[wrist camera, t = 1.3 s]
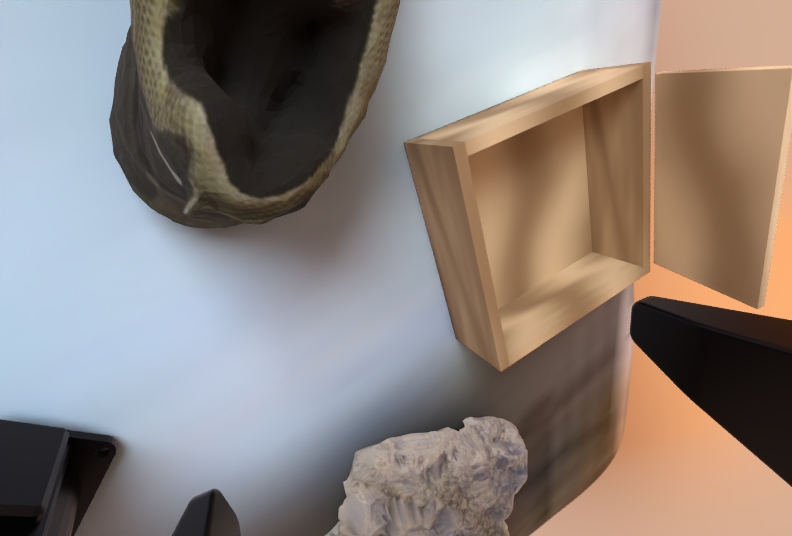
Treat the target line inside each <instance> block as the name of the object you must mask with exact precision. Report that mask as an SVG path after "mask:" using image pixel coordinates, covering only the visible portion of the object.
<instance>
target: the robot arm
mask: <svg viewBox="0 0 792 536" xmlns="http://www.w3.org/2000/svg"><path fill="white" fill-rule="evenodd" d="M630 335H631V337H632V339H633V341H634V342H635V343H636V344H637V346H638V347H639V348H641V349H642V351H643V352H644V353H645V354H646V355H647V356H648V357H649V358H650V359H651V360H652V361H653V362H654V363H655V364H656V365H657V366H658V367H659V368H660V369H661V370H662V371H663V372H664V373H665V374H666V375H667V376H668V377H669V378H670V379H671V380H672V381H673V382H674V384H675V385H676V386H677V387H678V388H679V389H680V390H681V391H683V393H684V394H686V395H687V396H688V397H689V398H690V399H691V400H692V401H693V402H694V403H695V404H696V405H698V406H699V407H700V408H701V409H702V410H703V411H705V412H706V413H707V414H708V415H709V416H711V418H713V419H714V420H715V421H716V422H717V423H718V424H720V425H721V426H722V427H723V428H724V429H725V430H727V431H728V432H729V433H730V434H731V435H732V436H733V437H735V438H736V439H737V440H738V441H739V442H740V443H742V444H743V445H744V446H745V447H746V448H747V449H748V450H750V451H751V452H752V453H753V454H754V455H756V456H757V457H758V458H759V459H760V460H761V461H762V462H764V463H765V464H766V465H767V466H768V467H769V468H771V469H772V470H773V471H774V472H775V473H776V474H777V475H779V476H780V477H781V478H782V479H783V480H784V481H786V482H787V483H788V484H789V485H790V486H791V487H792V320H787V319H780V318H774V317H769V316H763V315H757V314H752V313H747V312H741V311H735V310H729V309H724V308H718V307H712V306H707V305H701V304H695V303H690V302H684V301H678V300H673V299H667V298H661V297H655V296H650V297H647V298H644V299H642V300H639V301H637V302H635V303H634V304H633V306H632V312H631V323H630ZM100 447H106V448H108V450H105V451H98V450H96V449H98V448H100ZM116 450H117V441H116V439H115V438H114V437H111V436H108V435H100V434H93V433H85V432H78V431H70V430H65V429H64V428H57V427H50V426H42V425H35V424H28V423H20V422H13V421H6V420H0V536H74V534H75V532H76V530H77V528H78V526H79V524H80V522H81V520H82V518H83V517H84V515H85V513H86V511H87V509H88V507H89V505H90V503H91V501H92V499H93V497H94V495H95V493H96V491H97V489H98V487H99V485H100V483H101V481H102V479H103V477H104V475H105V473H106V472H107V470H108V468H109V466H110V464H111V462H112V460H113V458H114V456H115V454H116ZM172 536H241V534H240V527H239V522H238V519H237V516H236V514H235V513H234V511H233V510H232V508H231V507H230V505H229V504H228V502H227V501H226V499H225V498H224V496H223V495H222V493H221V492H220V491H219V490H218V489H211V490H209V491H207V492H205V493H202V494H200V495H198V496H196V497H194V498H193V499H192V500H191V501H190V502H189V504H188V506H187V508H186V510H185V512H184V514H183V516H182V517H181V519H180V521H179V523H178V525H177V527H176V529H175V531H174V533H173V535H172Z"/></svg>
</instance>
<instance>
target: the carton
mask: <svg viewBox="0 0 792 536" xmlns="http://www.w3.org/2000/svg"><path fill="white" fill-rule="evenodd" d="M650 125H651V62H645V63H637V64H629V65H621V66H613V67H605V68H597V69H589V70H581V71H579V72H576V73H574V74H572V75H569V76H567V77H564V78H562V79H559V80H557V81H554V82H552V83H549V84H547V85H544V86H542V87H540V88H537V89H535V90H532V91H530V92H527V93H525V94H522V95H520V96H517V97H515V98H512V99H510V100H508V101H505V102H503V103H500V104H498V105H495V106H493V107H490V108H488V109H485V110H483V111H480V112H478V113H476V114H473V115H471V116H468V117H466V118H463V119H461V120H458V121H456V122H453V123H451V124H448V125H446V126H444V127H441V128H439V129H436V130H434V131H431V132H429V133H426V134H424V135H421V136H419V137H416V138H414V139H412V140H409V141H407V142H404V145H405V148H406V152H407V156H408V160H409V163H410V167H411V171H412V175H413V178H414V182H415V186H416V190H417V193H418V197H419V201H420V205H421V208H422V212H423V216H424V220H425V223H426V227H427V231H428V235H429V238H430V242H431V246H432V250H433V254H434V257H435V261H436V265H437V269H438V272H439V276H440V280H441V284H442V287H443V291H444V295H445V299H446V302H447V306H448V310H449V314H450V317H451V321H452V325H453V329H454V332H455V336H456V339H457V340H459V341H460V342H461V343H463V344H464V345H465V346H467V347H468V348H469V349H471V350H472V351H473V352H475V353H476V354H478V355H479V356H480V357H482V358H483V359H484V360H486V361H487V362H488V363H490V364H491V365H492V366H494V367H495V368H496V369H498V370H499V371H500V372H501V371H503V370H504V369H506V368H507V367H509V366H510V365H512V364H513V363H515V362H516V361H518V360H519V359H521V358H522V357H524V356H525V355H527V354H528V353H530V352H531V351H533V350H534V349H536V348H537V347H539V346H540V345H542V344H543V343H544V342H546V341H547V340H549V339H550V338H552V337H553V336H555V335H556V334H558V333H559V332H561V331H562V330H564V329H565V328H567V327H568V326H570V325H571V324H573V323H574V322H576V321H577V320H579V319H580V318H582V317H583V316H585V315H586V314H588V313H589V312H591V311H592V310H594V309H595V308H597V307H598V306H599V305H601V304H602V303H604V302H605V301H607V300H608V299H610V298H611V297H613V296H614V295H616V294H617V293H619V292H620V291H622V290H623V289H625V288H626V287H628V286H629V285H631V284H632V283H634V282H635V281H637V280H638V279H640V278H641V277H643V276H644V275H645V274H647V273H649V272H650V148H651V147H650V146H651V144H650V143H651V141H650V140H651V133H650V132H651V126H650Z"/></svg>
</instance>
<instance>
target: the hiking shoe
mask: <svg viewBox="0 0 792 536" xmlns="http://www.w3.org/2000/svg"><path fill="white" fill-rule="evenodd" d="M399 4H400V0H130V7H131V26H130V28H129V30H128V33H127V38H126V42H125V44H124V46H123V48H122V51H121V55H120V59H119V62H118V68H117V73H116V78H115V87H114V98H113V105H112V110H111V114H110V119H109V121H110V128H111V135H112V142H113V152H114V156H115V158H116V159H117V161H118V163H119V164H120V166H121V168H122V170H123V172H124V174H125V176H126V178H127V180H128V182H129V184H130V185H131V187H132V189H133V191H134V192H135V193H136V194H137V195H138V196H139V197H140V198H141V199H142V200H143V201H144V202H145V203H146V204H147V205H148V206H149V207H150V208H152V209H153V210H155V211H157V212H158V213H160V214H162V215H164V216H166V217H168V218H169V219H171V220H172V221H174V222H176V223H179V224H182V225H186V226H190V227H198V228H216V227H223V228H225V227H230V226H234V225H238V224H241V223H249V224H263V223H266V222H268V221H270V220H272V219H274V218H277V217H280V216H283V215H286V214H289V213H292V212H295V211H297V210H299V209H301V208H303V207H304V206H305V205H306V204H307V202H308V201H309V200H310V198H311V197H312V195H313V194H314V193H315V191H316V190H317V189H318V188H319V187H320V186H321V184H322V183H323V182H324V180H325V179H326V178H327V177H328V176H329V172H330V171H331V169H332V167H333V165H334V164H335V163H336V162H337V161H338V160H339V158H340V157H341V155H342V154H343V152H344V151H345V148H346V145H347V142H348V140H349V139H350V137H351V136H352V134H353V133H354V132H355V130H356V129H357V127H358V126H359V124H360V123H361V121H362V120H363V119H364V117H365V115H366V111H367V106H368V102H369V100H370V98H371V97H372V95H373V93H374V91H375V89H376V86H377V83H378V81H379V78H380V75H381V73H382V70H383V67H384V64H385V62H386V57H387V52H388V46H389V41H390V38H391V34H392V30H393V27H394V23H395V19H396V16H397V12H398V8H399Z"/></svg>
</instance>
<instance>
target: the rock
mask: <svg viewBox="0 0 792 536" xmlns="http://www.w3.org/2000/svg"><path fill="white" fill-rule="evenodd" d="M463 422H464V424H465V427H464V428H463V429H460V430H459V431H456V430H455V429H451V428H449V427H446V428H443V429H440V430H439V431H431V432H427V433H412V434H407V435H403V436H399V437H391V438H388V439H386V440H384V441H382V442H380V443H378V444H375V445H371V446H368V447H365V448H363V449H360V450H358V451H356V453H355V456H354V459H353V463H352V469H351V472H350V475H349V477H348V479H347V480H346V481H343V483H344V489H345V493H346V497H347V498H346V499H345V500H344V503H343V505H341V506H340V507H339V513H338V519H339V520H340V521H339V522H338V523H337V524H336V525H335V526H334V528H333V529H332V530H331V531H330V532H329V533H328V534H326V535H325V536H510V535H509V532H508V526H507V525H506V523H505V521H504V520H505V519H507V518H508V517H509V515H510V514H511V512H512V510H513V501H514V495H515V494H516V493H518V491H519V490H520V488H521V487H522V485H523V484H524V483H525V482H526V480H527V455H528V451H527V450H526V449H525V444H524V442H523V439H522V438H521V436H520V435H519V434H518V429H517V428H516V426H515V425H513V424H512V423H511V422H509V421H506V420H504V419H502V418H496V417H490V416H485V417H481V418H474V417H468V418H466V419H465V420H463Z"/></svg>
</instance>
